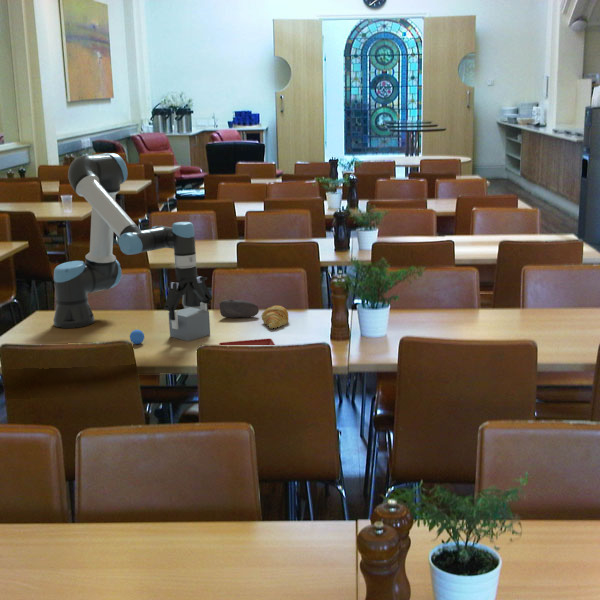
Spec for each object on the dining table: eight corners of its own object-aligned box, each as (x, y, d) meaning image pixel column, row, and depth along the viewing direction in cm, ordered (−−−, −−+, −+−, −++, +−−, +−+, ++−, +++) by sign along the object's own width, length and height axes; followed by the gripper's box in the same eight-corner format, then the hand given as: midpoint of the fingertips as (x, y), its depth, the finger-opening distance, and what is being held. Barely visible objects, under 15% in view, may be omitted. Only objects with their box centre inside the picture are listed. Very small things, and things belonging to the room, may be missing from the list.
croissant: (280, 339, 317) (289, 321, 314) (255, 327, 316) (264, 308, 314) (285, 323, 337) (294, 305, 335) (262, 312, 337) (271, 294, 334)
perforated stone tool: (260, 315, 338) (259, 298, 336) (257, 319, 333) (257, 301, 331) (222, 315, 340) (221, 298, 338) (219, 319, 335) (218, 301, 333)
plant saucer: (281, 362, 279) (281, 352, 279) (225, 367, 276) (225, 357, 275) (271, 347, 297) (271, 338, 296) (218, 352, 293) (218, 342, 292)
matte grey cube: (170, 336, 312) (168, 312, 310) (192, 330, 319) (190, 307, 317) (188, 341, 305) (186, 317, 303) (210, 334, 313) (209, 311, 311)
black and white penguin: (204, 315, 340) (202, 277, 337) (179, 315, 342) (177, 277, 339) (212, 309, 350) (210, 272, 346) (188, 308, 352) (185, 272, 348)
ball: (127, 344, 304) (126, 330, 303) (139, 340, 308) (138, 327, 307) (136, 346, 301) (135, 332, 300) (147, 343, 304) (146, 329, 303)
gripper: (164, 273, 295) (169, 333, 300) (219, 261, 313) (223, 318, 317) (150, 271, 300) (155, 330, 305) (205, 259, 318) (209, 316, 323)
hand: (190, 324), depth 311 cm, fingers open, 13 cm apart
